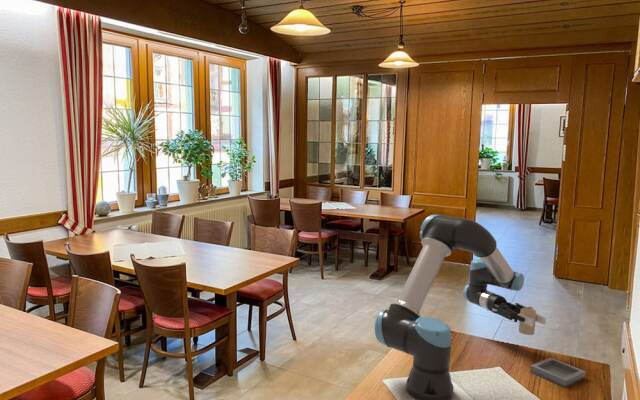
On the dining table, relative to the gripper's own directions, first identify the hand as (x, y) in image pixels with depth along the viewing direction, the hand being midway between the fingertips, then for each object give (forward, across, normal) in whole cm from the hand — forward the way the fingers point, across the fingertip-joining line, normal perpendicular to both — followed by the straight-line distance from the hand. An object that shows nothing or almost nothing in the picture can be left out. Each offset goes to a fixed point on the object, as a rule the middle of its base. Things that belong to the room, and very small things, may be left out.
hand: (538, 322), depth 180 cm
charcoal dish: (+10, 0, -16) cm, 19 cm away
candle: (-5, 0, -6) cm, 8 cm away
